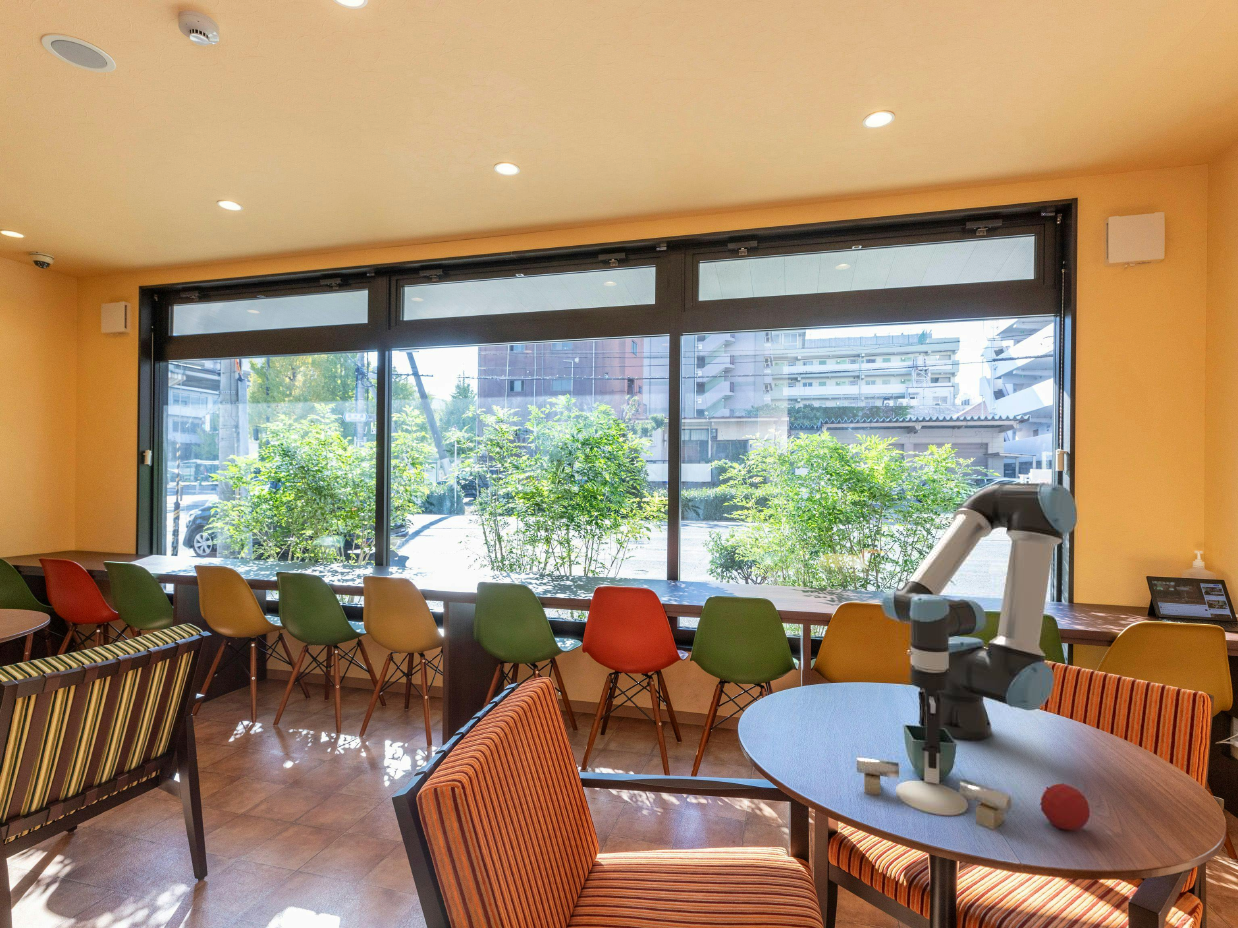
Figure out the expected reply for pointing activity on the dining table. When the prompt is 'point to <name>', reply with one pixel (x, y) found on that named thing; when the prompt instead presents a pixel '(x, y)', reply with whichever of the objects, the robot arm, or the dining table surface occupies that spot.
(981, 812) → the shaft
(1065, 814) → the tomato
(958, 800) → the seat pad
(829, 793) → the dining table surface
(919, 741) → the flower pot
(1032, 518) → the robot arm
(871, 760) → the shaft
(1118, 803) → the dining table surface
